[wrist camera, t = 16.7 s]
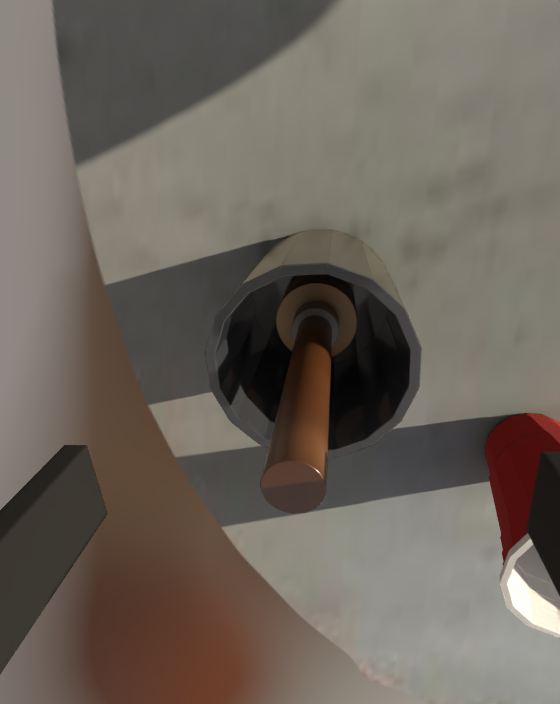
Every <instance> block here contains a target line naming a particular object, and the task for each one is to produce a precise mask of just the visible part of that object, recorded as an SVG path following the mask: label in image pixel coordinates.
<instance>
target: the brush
mask: <svg viewBox="0 0 560 704" xmlns="http://www.w3.org/2000/svg"><path fill="white" fill-rule="evenodd" d="M276 326H277V331H278V334H279V336H280V338H281V340H282V342H283V343H284V344H285V345H286V347H287V348H289V349H290V350H291V351H292V355H291V359H290V363H289V367H288V371H287V375H286V379H285V383H284V387H283V391H282V395H281V399H280V403H279V407H278V411H277V415H276V419H275V424H274V428H273V432H272V436H271V440H270V444H269V448H268V452H267V456H266V460H265V464H264V468H263V472H262V476H261V480H260V487H261V491H262V494H263V496H264V498H265V499H266V500H267V501H268V502H269V503H270V504H271V505H272V506H274V507H275V508H277V509H279V510H281V511H284V512H288V513H304V512H308V511H311V510H313V509H315V508H316V507H317V506H319V505H320V503H321V502H322V501H323V499H324V497H325V495H326V486H327V459H328V432H329V405H330V378H331V357H333V356H335V355H337V354H339V353H340V352H342V351H343V350H344V349H346V348H347V346H348V345H349V344H350V343H351V341H352V340H353V338H354V336H355V333H356V329H357V312H356V304H355V298H354V294H353V292H352V290H351V288H350V286H349V285H348V284H347V282H346V281H344V280H341V279H338V278H335V277H333V276H330V275H327V274H322V275H301V276H298V277H297V278H295V279H294V280H293V281H292V282H291V283H290V285H289V286H288V287H287V289H286V291H285V294H284V296H283V298H282V301H281V303H280V305H279V308H278V311H277V316H276Z"/></svg>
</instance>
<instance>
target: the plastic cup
mask: <svg viewBox="0 0 560 704" xmlns="http://www.w3.org/2000/svg"><path fill="white" fill-rule="evenodd" d="M485 450H486V451H485V456H486V460H487V465H488V469H489V473H490V476H489V480H490V484H491V489H492V493H493V498H494V503H495V507H496V512H497V517H498V521H499V526H500V530H501V537H500V538H501V542H502V547H503V551H502V555H503V560H504V562H503V568H502V571H501V573H500V585H501V589H502V592H503V596H504V600H505V603H506V607H507V608H508V609H509V610H510V611H511V612H513V613H514V614H515V615H516V616H517V617H518V618H519V619H520V620H521V621H522V622H524V623H525V624H526V625H527V626H529V627H531V628H534V629H537V630H539V631H542V632H545V633H547V634H550V635H552V636H555V637H558V638H560V596H559V594H558V592H557V590H556V588H555V586H554V584H553V582H552V580H551V578H550V576H549V574H548V572H547V570H546V568H545V566H544V564H543V562H542V560H541V558H540V556H539V554H538V552H537V550H536V548H535V546H534V544H533V542H532V540H531V538H530V536H529V534H528V532H527V530H526V528H527V523H528V518H529V513H530V507H531V502H532V497H533V492H534V486H535V481H536V476H537V471H538V465H539V460H540V455H541V451H543V452H560V422H558V421H555V420H553V419H551V418H549V417H547V416H544V415H542V414H530V413H525V414H521V415H517V416H513V417H509V418H508V419H506V420H505V421H503V422H501V423H500V424H498V425H497V426H496V427H495V428H494V429H493V431H492V432H491V433H490V434H489V436H488V439H487V443H486V447H485Z"/></svg>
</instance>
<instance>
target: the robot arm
mask: <svg viewBox="0 0 560 704" xmlns="http://www.w3.org/2000/svg"><path fill="white" fill-rule="evenodd" d="M106 515H107V510H106V507H105V504H104V501H103V497H102V494H101V490H100V487H99V484H98V481H97V477H96V474H95V471H94V468H93V464H92V461H91V457H90V454H89V451H88V447H87V446H86V445H85V446H84V445H64V446H63V447H62V448H61V449H60V450H59V451H58V452H57V453H56V454H55V455H54V456H53V457H52V458H51V459H50V460H49V462H47V463H46V465H44V466H43V468H42V469H41V470H40V471H39V472H38V473H37V474H36V475H35V476H34V477H33V478H32V479H31V480H30V481H29V482H28V483H27V484H26V485H25V486H24V487H23V488H22V489H21V490H20V491H19V492H18V493H17V494H16V495H15V496H14V497H13V498H12V499H11V500H10V501H9V502H8V503H7V504H6V505H5V506H4V507H3V508H2V509H1V510H0V674H1V673H2V671H3V669H4V668H5V667H6V665H7V664H8V662H9V661H10V659H11V658H12V656H13V655H14V653H15V651H16V650H17V649H18V647H19V645H20V644H21V642H22V641H23V640H24V638H25V637H26V635H27V634H28V632H29V631H30V629H31V628H32V626H33V625H34V623H35V622H36V620H37V619H38V617H39V616H40V614H41V613H42V611H43V609H44V608H45V607H46V605H47V604H48V602H49V601H50V599H51V598H52V596H53V594H54V593H55V591H56V590H57V589H58V587H59V585H60V584H61V583H62V581H63V580H64V578H65V577H66V575H67V574H68V572H69V571H70V569H71V568H72V566H73V564H74V563H75V562H76V560H77V559H78V557H79V556H80V554H81V553H82V551H83V550H84V548H85V547H86V545H87V544H88V542H89V541H90V539H91V538H92V536H93V535H94V533H95V532H96V530H97V529H98V527H99V526H100V524H101V523H102V521H103V520H104V518H105V517H106ZM526 530H527V532H528V534H529V536H530V538H531V540H532V542H533V544H534V546H535V548H536V550H537V552H538V554H539V556H540V558H541V560H542V562H543V564H544V566H545V568H546V570H547V572H548V574H549V576H550V578H551V580H552V582H553V584H554V586H555V588H556V590H557V592H558V594H559V596H560V452H543V451H541V455H540V460H539V465H538V471H537V476H536V481H535V486H534V492H533V497H532V502H531V507H530V513H529V518H528V523H527V528H526Z"/></svg>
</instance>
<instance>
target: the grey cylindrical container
mask: <svg viewBox="0 0 560 704" xmlns="http://www.w3.org/2000/svg"><path fill="white" fill-rule="evenodd" d="M322 274H327V275H330V276H333V277H335V278H338V279H341V280H344V281H346V282H347V284H348V285H349V286H350V288H351V290H352V292H353V294H354V298H355V304H356V312H357V329H356V333H355V336H354V338H353V340H352V341H351V343H350V344H349V345H348V346H347V348H346V349H344V350H343V351H342V352H340V353H339V354H337V355H335V356H333V357H331V378H330V405H329V432H328V458H334V457H335V458H336V457H339V456H342V455H345V454H348V453H351V452H354V451H357V450H360V449H363V448H366V447H369V446H371V445H373V444H374V443H375V442H377V441H378V440H379V439H380V438H382V437H383V436H384V435H385V434H386V433H388V432H389V431H390V430H391V429H393V428H394V427H395V426H396V425H398V424H399V423H400V422H401V421H402V419H403V417H404V415H405V414H406V412H407V410H408V408H409V406H410V404H411V402H412V400H413V399H414V397H415V395H416V393H417V391H418V389H419V387H420V370H421V351H422V348H421V345H420V342H419V340H418V338H417V335H416V333H415V330H414V328H413V326H412V323H411V321H410V318H409V316H408V314H407V311H406V309H405V307H404V305H403V303H402V300H401V298H400V296H399V294H398V292H397V290H396V288H395V286H394V283H393V281H392V279H391V277H390V275H389V273H388V271H387V269H386V266H385V264H384V262H383V261H382V260H381V259H380V258H379V257H378V256H377V255H376V254H375V252H374V251H373V250H372V249H371V248H369V247H368V246H367V245H366V244H365V243H363V242H362V241H361V240H359V239H357V238H355V237H353V236H350V235H348V234H345V233H342V232H338V231H334V230H309V231H304V232H299V233H297V234H295V235H292V236H290V237H288V238H286V239H284V240H282V241H281V242H279V243H277V244H275V245H274V246H273V247H272V248H271V249H270V250H269V251H268V253H267V254H266V255H265V256H264V257H263V258H262V260H261V261H260V262H259V263H258V264H257V266H256V267H255V268H254V269H253V270H252V272H251V273H250V274H249V275H248V276H247V278H246V279H245V280H244V281H243V283H242V284H241V285H240V286H239V287H238V289H237V290H236V291H235V292H234V293H233V295H232V296H231V297H230V298H229V300H228V301H227V302H226V303H225V304H224V306H223V307H222V308H221V309H220V311H219V312H218V313H217V314H216V316H215V319H214V322H213V326H212V329H211V333H210V337H209V340H208V344H207V348H206V351H205V355H206V362H207V368H208V374H209V381H210V387H211V391H212V392H213V394H214V396H215V397H216V399H217V401H218V402H219V404H220V405H221V407H222V409H223V410H224V412H225V414H226V415H227V417H228V419H229V420H230V421H231V422H232V423H233V424H234V425H235V426H237V427H238V428H239V429H240V430H242V431H243V432H244V433H246V434H247V435H248V436H249V437H251V438H252V439H253V440H254V441H256V442H257V443H258V444H260V445H262V446H265V447H268V448H269V444H270V440H271V436H272V432H273V428H274V424H275V419H276V415H277V411H278V407H279V403H280V399H281V395H282V391H283V387H284V383H285V379H286V375H287V371H288V367H289V363H290V359H291V355H292V351H291V350H290V349H289V348H287V347H286V345H285V344H284V343H283V342H282V340H281V338H280V336H279V334H278V331H277V326H276V316H277V311H278V308H279V305H280V303H281V301H282V298H283V296H284V294H285V291H286V289H287V287H288V286H289V285H290V283H291V282H292V281H293V280H294V279H295V278H297V277H298V276H301V275H322Z"/></svg>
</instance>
